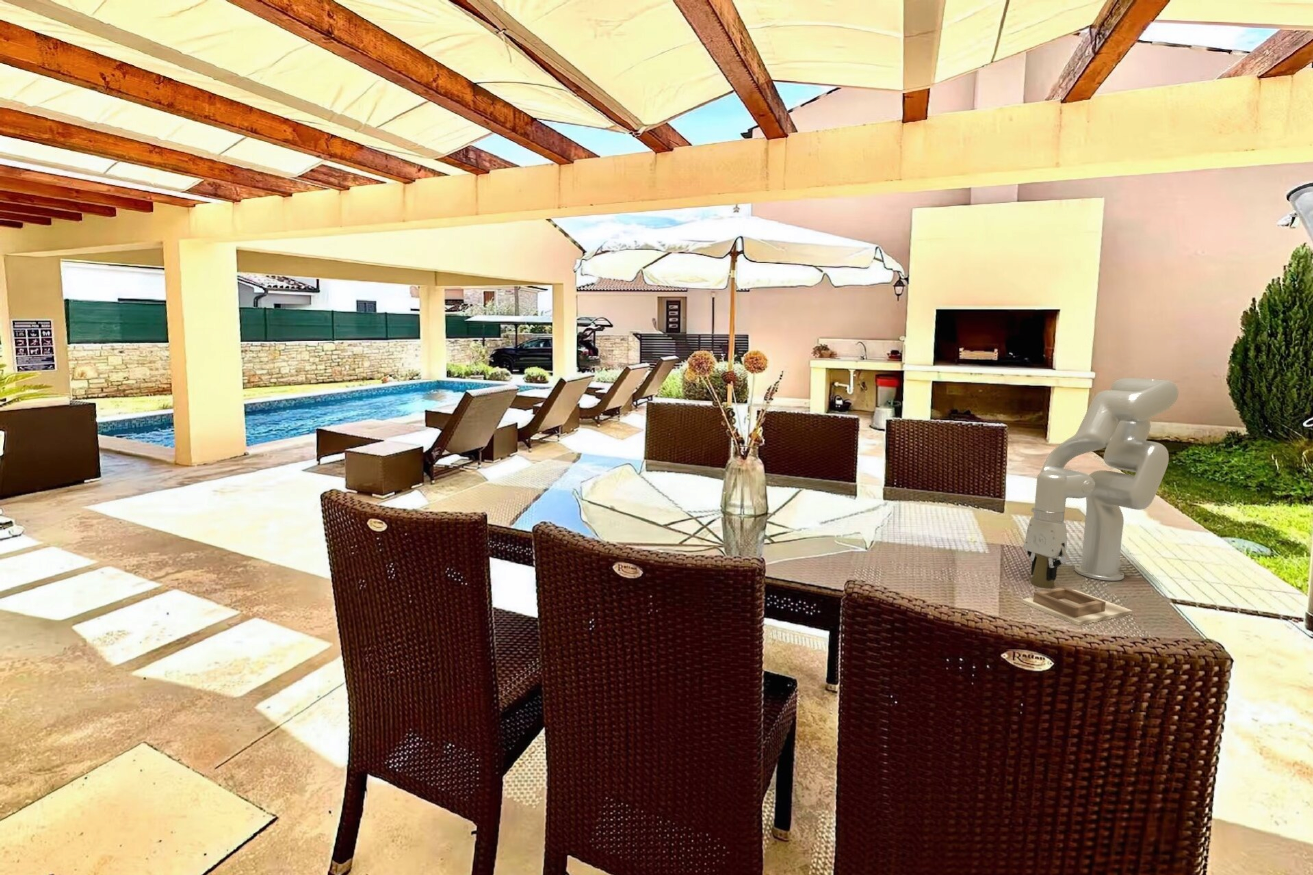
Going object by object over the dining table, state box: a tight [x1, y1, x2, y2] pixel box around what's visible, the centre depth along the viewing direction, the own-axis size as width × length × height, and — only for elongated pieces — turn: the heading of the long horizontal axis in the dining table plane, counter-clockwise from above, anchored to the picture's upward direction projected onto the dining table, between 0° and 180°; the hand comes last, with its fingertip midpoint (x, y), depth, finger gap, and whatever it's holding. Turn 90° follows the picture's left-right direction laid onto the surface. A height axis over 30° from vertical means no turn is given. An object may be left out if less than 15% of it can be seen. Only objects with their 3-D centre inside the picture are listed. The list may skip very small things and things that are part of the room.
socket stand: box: [1021, 586, 1133, 627], centre depth 179 cm, size 20×16×4 cm
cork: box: [1030, 553, 1056, 589], centre depth 196 cm, size 6×6×11 cm
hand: (1043, 576), depth 196 cm, fingers closed on cork, 4 cm apart
